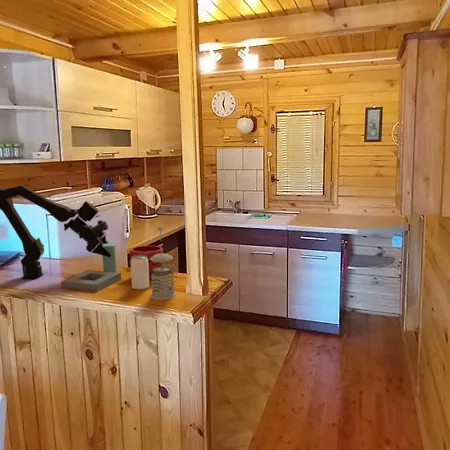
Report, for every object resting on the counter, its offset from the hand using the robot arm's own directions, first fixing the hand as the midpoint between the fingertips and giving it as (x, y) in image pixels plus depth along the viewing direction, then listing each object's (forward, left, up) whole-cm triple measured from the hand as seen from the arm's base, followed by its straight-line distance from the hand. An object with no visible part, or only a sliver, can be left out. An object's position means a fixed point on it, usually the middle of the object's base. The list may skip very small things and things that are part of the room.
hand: (111, 253), depth 187 cm
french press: (+31, -26, -8) cm, 42 cm away
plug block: (-1, 0, -8) cm, 8 cm away
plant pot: (+17, -4, -8) cm, 19 cm away
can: (+19, -18, -8) cm, 28 cm away
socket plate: (-2, -15, -8) cm, 17 cm away
